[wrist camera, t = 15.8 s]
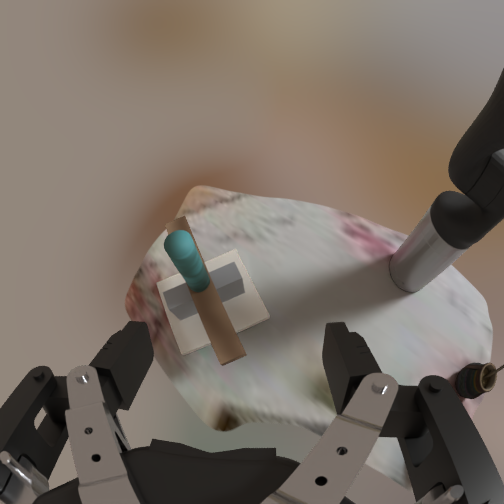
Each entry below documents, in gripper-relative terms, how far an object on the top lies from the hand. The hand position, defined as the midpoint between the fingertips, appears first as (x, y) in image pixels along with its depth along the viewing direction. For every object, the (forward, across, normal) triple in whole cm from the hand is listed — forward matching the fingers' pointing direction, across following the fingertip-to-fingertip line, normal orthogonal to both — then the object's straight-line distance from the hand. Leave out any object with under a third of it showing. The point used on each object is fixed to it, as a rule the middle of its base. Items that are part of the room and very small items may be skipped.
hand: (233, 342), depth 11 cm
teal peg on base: (+27, +8, +9) cm, 30 cm away
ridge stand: (+33, +8, +15) cm, 37 cm away
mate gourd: (+19, -41, +29) cm, 54 cm away
